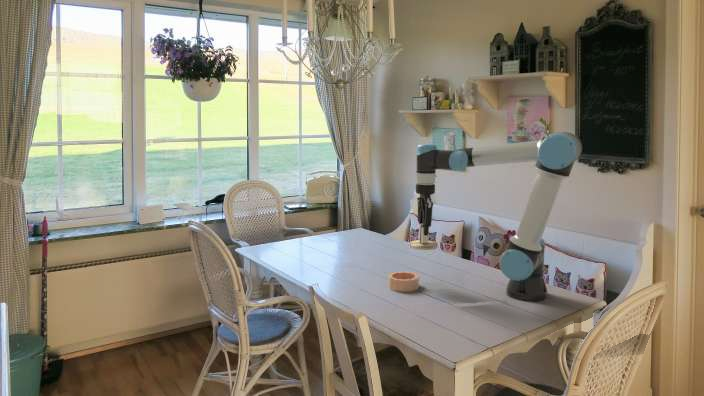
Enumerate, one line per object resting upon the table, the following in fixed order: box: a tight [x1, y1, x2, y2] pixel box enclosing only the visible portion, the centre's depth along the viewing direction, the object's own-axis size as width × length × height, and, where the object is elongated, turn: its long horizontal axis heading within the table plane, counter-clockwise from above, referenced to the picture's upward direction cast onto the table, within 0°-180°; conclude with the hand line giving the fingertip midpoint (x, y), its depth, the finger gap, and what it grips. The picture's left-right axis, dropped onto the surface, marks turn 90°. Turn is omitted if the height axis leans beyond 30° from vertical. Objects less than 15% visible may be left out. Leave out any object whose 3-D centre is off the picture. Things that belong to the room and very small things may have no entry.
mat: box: [419, 281, 452, 292], centre depth 213 cm, size 10×10×1 cm
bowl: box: [387, 271, 420, 293], centre depth 213 cm, size 12×12×6 cm
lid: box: [409, 223, 438, 251], centre depth 210 cm, size 11×11×9 cm
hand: (423, 241), depth 211 cm, fingers closed on lid, 3 cm apart
